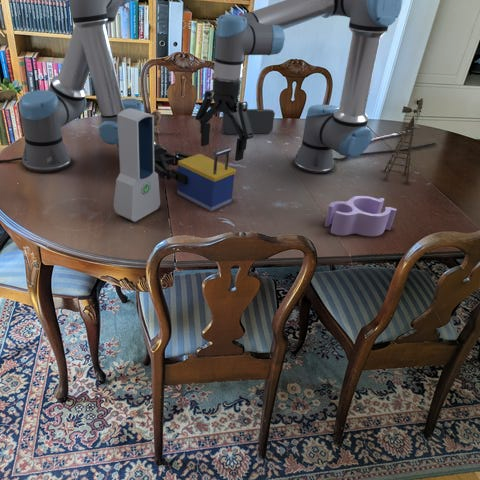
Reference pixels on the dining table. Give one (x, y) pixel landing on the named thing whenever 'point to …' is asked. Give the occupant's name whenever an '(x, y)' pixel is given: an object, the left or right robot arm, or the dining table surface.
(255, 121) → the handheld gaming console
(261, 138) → the dining table surface
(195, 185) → the chest
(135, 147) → the electronic device
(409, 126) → the miniature windmill
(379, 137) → the sword
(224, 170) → the lid
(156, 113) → the lion figurine
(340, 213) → the clip
